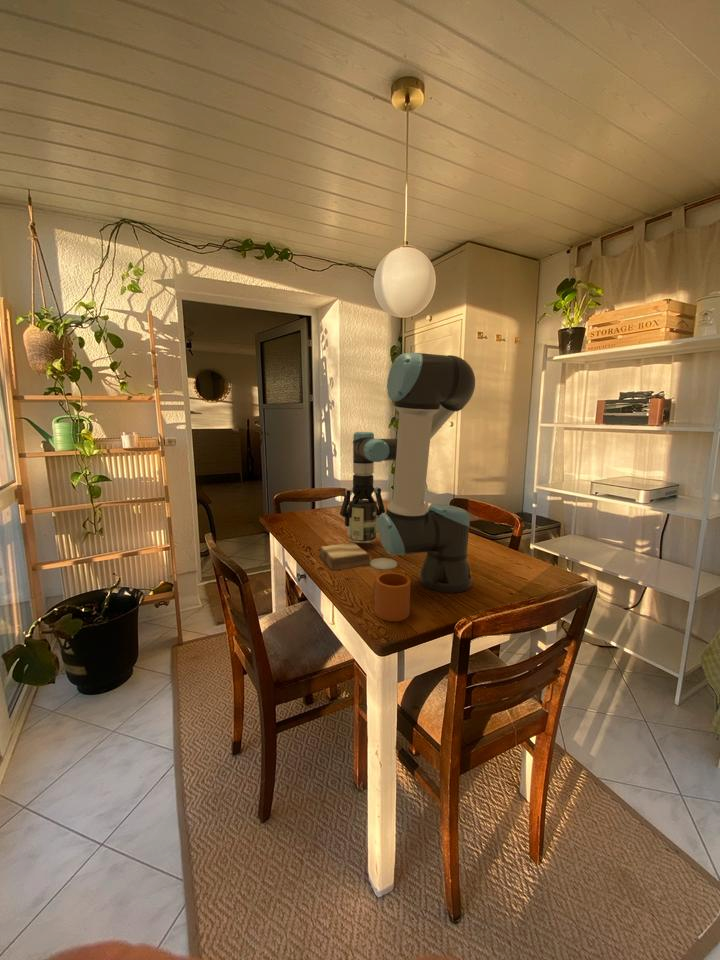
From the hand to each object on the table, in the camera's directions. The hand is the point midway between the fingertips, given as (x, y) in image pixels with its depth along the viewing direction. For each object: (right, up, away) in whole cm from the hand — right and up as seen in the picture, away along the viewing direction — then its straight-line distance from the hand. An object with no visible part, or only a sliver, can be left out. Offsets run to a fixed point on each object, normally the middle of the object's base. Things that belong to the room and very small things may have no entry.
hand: (362, 533), depth 149 cm
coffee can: (0, -2, 0) cm, 3 cm away
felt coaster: (+7, -8, -17) cm, 20 cm away
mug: (+7, -14, -47) cm, 49 cm away
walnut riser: (-6, -7, -14) cm, 17 cm away
